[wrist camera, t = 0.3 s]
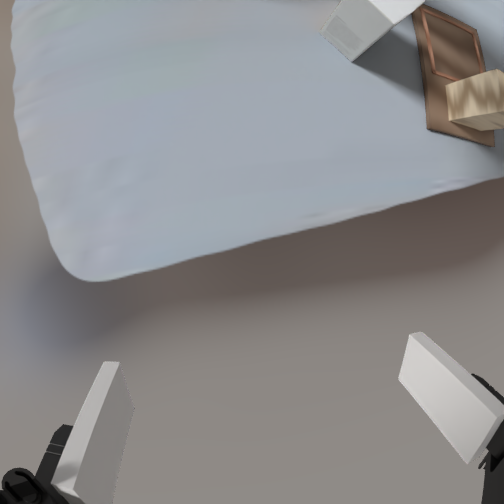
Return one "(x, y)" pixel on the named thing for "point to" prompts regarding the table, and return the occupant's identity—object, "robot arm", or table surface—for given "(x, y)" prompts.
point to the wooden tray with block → (457, 78)
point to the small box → (364, 23)
